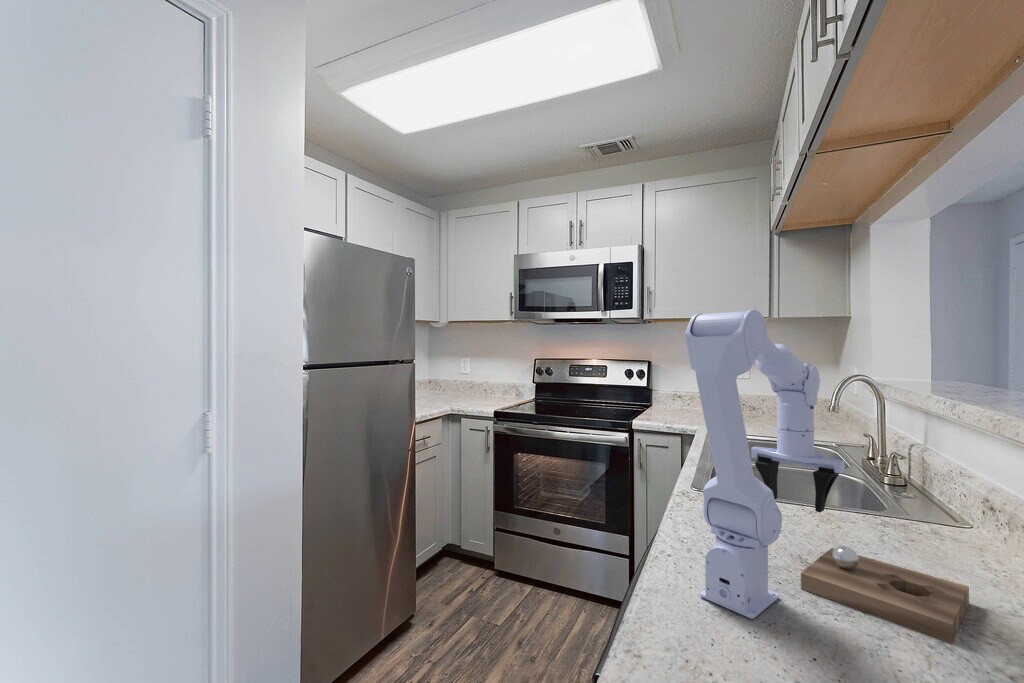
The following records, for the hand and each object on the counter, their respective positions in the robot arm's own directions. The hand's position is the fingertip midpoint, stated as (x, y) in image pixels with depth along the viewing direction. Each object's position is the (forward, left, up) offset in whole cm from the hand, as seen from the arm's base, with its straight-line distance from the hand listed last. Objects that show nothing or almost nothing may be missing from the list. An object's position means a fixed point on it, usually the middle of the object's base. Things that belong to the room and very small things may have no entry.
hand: (795, 504), depth 82 cm
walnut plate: (-2, -13, -10) cm, 17 cm away
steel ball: (-2, -8, -6) cm, 10 cm away
